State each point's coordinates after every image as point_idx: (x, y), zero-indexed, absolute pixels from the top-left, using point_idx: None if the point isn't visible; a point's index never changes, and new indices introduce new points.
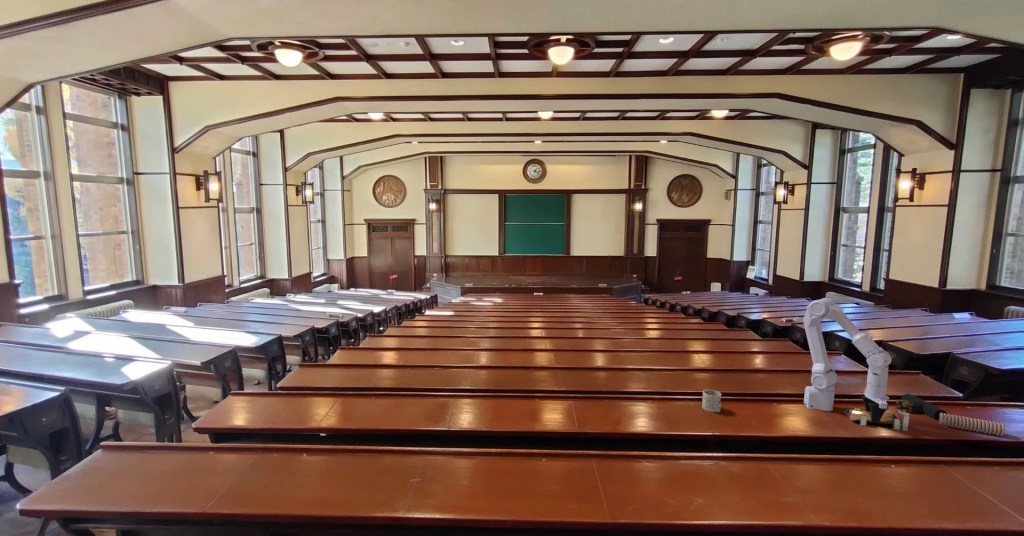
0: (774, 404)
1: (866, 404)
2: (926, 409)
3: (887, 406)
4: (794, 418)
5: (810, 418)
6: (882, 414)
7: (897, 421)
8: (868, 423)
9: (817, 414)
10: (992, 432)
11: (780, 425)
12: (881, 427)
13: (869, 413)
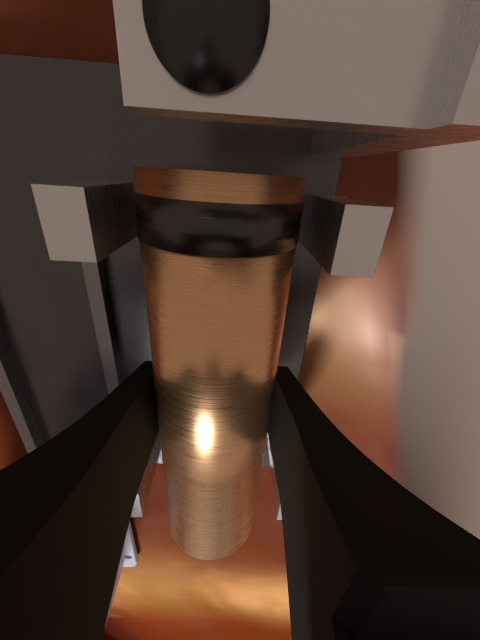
0: (115, 615)
1: (121, 551)
2: None
3: (466, 598)
4: (244, 595)
5: (223, 563)
6: (346, 442)
7: (375, 240)
8: None
9: (157, 538)
10: None
11: None
12: (303, 335)
13: (238, 472)
